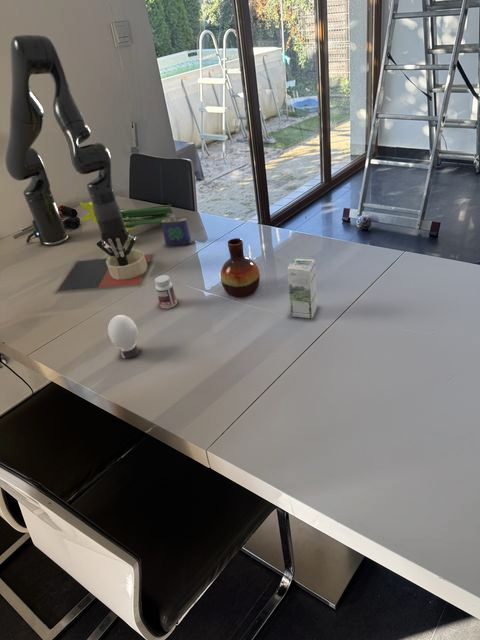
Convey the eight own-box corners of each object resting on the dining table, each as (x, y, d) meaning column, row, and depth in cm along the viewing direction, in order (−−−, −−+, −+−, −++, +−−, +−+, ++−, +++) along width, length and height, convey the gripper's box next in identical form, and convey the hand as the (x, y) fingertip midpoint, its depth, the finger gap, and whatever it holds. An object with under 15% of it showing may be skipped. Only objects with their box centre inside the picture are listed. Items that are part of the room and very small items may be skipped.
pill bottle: (170, 298, 138) (163, 272, 133) (180, 303, 135) (173, 277, 130) (157, 305, 136) (149, 279, 131) (166, 310, 133) (159, 284, 128)
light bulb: (119, 365, 115) (105, 328, 108) (114, 350, 120) (101, 314, 113) (146, 356, 117) (134, 319, 110) (140, 342, 122) (129, 306, 115)
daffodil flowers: (187, 228, 180) (100, 238, 157) (168, 241, 191) (84, 252, 168) (173, 185, 179) (84, 188, 156) (155, 200, 190) (69, 205, 167)
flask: (192, 241, 168) (186, 212, 162) (191, 245, 166) (184, 215, 159) (167, 243, 169) (159, 214, 162) (165, 247, 167) (158, 218, 160)
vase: (267, 283, 139) (262, 234, 130) (251, 303, 131) (244, 252, 122) (234, 279, 143) (226, 231, 134) (216, 298, 135) (207, 248, 126)
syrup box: (317, 307, 126) (315, 258, 117) (311, 320, 122) (309, 269, 113) (296, 305, 128) (293, 256, 119) (290, 317, 124) (286, 268, 115)
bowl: (106, 281, 150) (101, 268, 147) (115, 263, 159) (111, 251, 157) (143, 278, 149) (139, 265, 146) (150, 260, 159) (147, 248, 156)
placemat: (57, 292, 148) (57, 291, 148) (78, 262, 164) (77, 261, 164) (139, 285, 147) (138, 283, 146) (151, 255, 162) (151, 254, 162)
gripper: (132, 208, 146) (146, 259, 156) (90, 212, 147) (107, 262, 157) (127, 217, 140) (142, 270, 150) (83, 221, 141) (101, 273, 151)
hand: (124, 266), depth 154 cm, fingers closed
